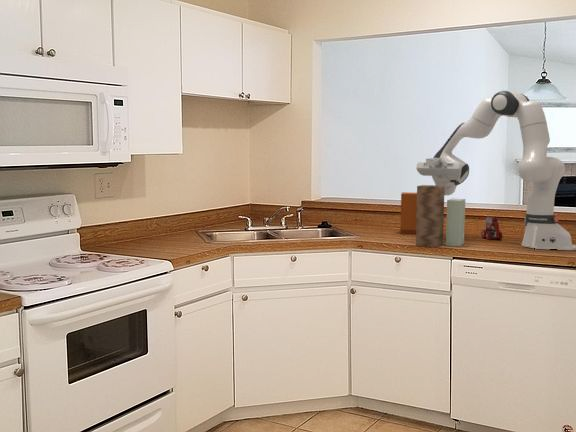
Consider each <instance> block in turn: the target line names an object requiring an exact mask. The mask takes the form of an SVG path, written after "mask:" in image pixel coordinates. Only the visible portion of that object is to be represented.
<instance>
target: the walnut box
mask: <svg viewBox="0 0 576 432" xmlns="http://www.w3.org/2000/svg"><path fill="white" fill-rule="evenodd" d="M444 192H445V186H436V185H433V184H432V185H431V184H430V185H429V184H428V185H427V184H422V185H417V186H416V193H417V212H416V235H415V246H418V247H433V248H437V247H438V248H439V247H441V246H442V245H444V223H445V222H444V219H445V217H444V216H445V195H444Z"/></svg>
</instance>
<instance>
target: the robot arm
mask: <svg viewBox="0 0 576 432" xmlns="http://www.w3.org/2000/svg"><path fill="white" fill-rule="evenodd" d="M502 116H504V117H507V118H516V119H517V120H518V123H519V129H520V133H521V134H520V136H521V139H522V159H521V162H520V163H519V164H518V168H517V171H518V172H517V173H518V175H519V177H520V178H521V180H523V181H526V182H528V183H532V184H533V185H532V188H531V190H530V192H529V193H528V194H527V198H526V213H525V215H524V226H525V227H524V235H523V239H522V242H521V244H520V245H521V247H525V248H526V247H527V248H531V249H534V248H535V249H534V250H550V249H557V250H559V251H576V244H573V243H572V235H571V234H570V232H569V231H568V230H566V229H565V227H562V226H561V225H560V224H559V219H560V218H559V216H557V215H555V214H554V212H555V211H554V210H555V197H556V193H557V189H558V186H559V183H560V180H561V179H562V177H563V176H564V175H565V171H566V166H565V163H564V161H562V160H561V159H559V158H556V157H554V156H548V155H547V152H548V145H550V142H551V137H550V132H549V128H548V122H547V119H546V116H545V112H544V109H543V107H542V105H541V103H540V102H539V101H536V100H530V99H529V98H528V96H527V95H525V94H522V93H519V92H517V91H509V90H502V91H501V90H500V91H498V92H497V93H494V95H493V96H491V97H490V96H488V97H485V98H483V99H482V101H481V102H480V103H479V104H478V105H477V107H476V109H475V110H474V112H473V113H472V115H471V117H470V119H469V120H468V121H466V122H461V123H460V124H459V125H458V126H457V127H456V128H455V130H454V131H453V132H452V133H451V134H450V136H449V137H448V138H447V140H446V141H445V143H444V144H443V145H442V146H441V147H440V149H439V150H438V151H437V152H436V153H435V154H434V156H433V157H432V158H443V159H440V164H442V165H435V166H426V161H418V162H417V164H416V171H417V173H418V174H419V175H421V176H426V177H427V176H428V177H432V181H433V182H434V184H435V186H445V192H444V196H451V195H453V194H454V193H455V191H456V189H457V186H459V185H461V184H462V183H464V182H465V181H466V179H467V178H468V177H469V174H470V166H469V164H468V163H466V162H465V161H464V160H462V159H461V158H459V157H457V156H456V155H455V154H453V150H455V148H456V147H457V145H458V144H459V142H460V141H461V140H462V139H464V138H470V139H479V140H480V139H484V138H486V137H488V136H489V135H490V134H491V133H492V131H493V129H494V127H495V125H496V124H497V122H498V120H499V118H501V117H502ZM557 250H556V251H557Z"/></svg>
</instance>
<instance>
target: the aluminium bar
mask: <svg viewBox="0 0 576 432" xmlns="http://www.w3.org/2000/svg"><path fill="white" fill-rule="evenodd" d="M440 159H443V158H433V157H430V158H425V162H426V166H435V165H442V164H440Z"/></svg>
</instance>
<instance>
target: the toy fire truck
mask: <svg viewBox="0 0 576 432" xmlns="http://www.w3.org/2000/svg"><path fill="white" fill-rule="evenodd" d="M498 221H499V219H498V218H497V217H493V216H486V218H485V222H486V224H485V225H486V226H485V229H483V230H481V235H480V236H481V238H482V239H486V240H487V241H490V240H492V239H496V240H497V241H501V240H502V239H503V232H502V231H500V224H499V222H498Z"/></svg>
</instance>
